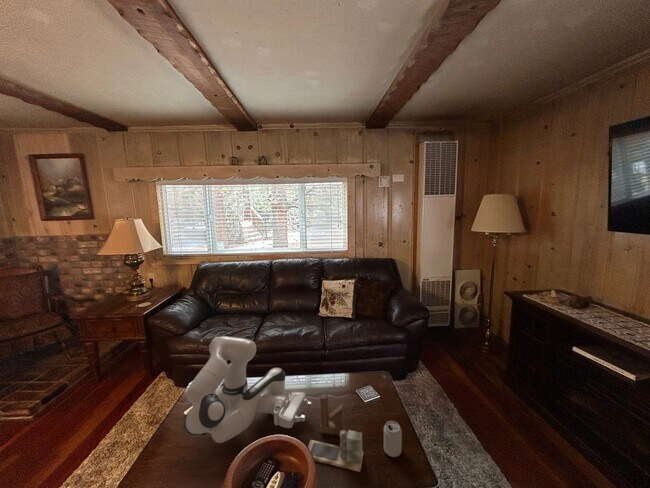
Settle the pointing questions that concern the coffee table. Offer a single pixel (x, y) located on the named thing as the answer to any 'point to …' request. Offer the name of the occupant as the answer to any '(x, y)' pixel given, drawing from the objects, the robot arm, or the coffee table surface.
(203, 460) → the coffee table surface
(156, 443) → the coffee table surface
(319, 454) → the hinge jig
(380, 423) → the coffee table surface
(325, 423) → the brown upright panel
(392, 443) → the can
